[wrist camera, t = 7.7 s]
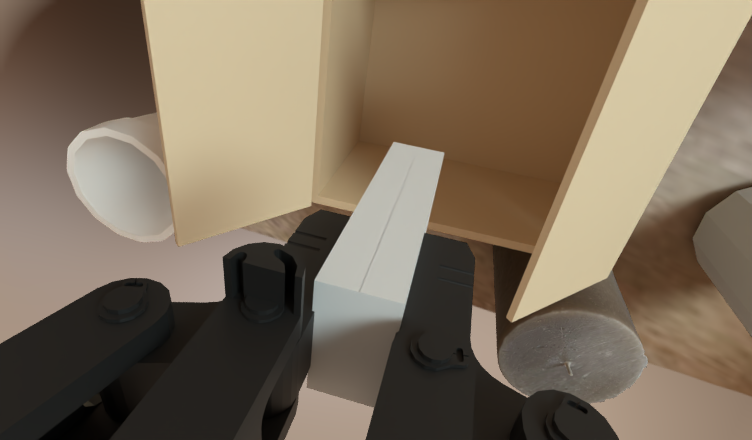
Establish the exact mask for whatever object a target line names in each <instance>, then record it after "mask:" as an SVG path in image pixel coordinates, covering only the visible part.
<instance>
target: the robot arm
mask: <svg viewBox="0 0 752 440" xmlns="http://www.w3.org/2000/svg"><path fill="white" fill-rule="evenodd" d="M443 157H444V152H439V151H434V150H430V149H425V148H420V147H416V146H411V145H406V144H402V143H397V142H393V144H392V146H391V148H390V149H389V151H388V153H387V154H386V156H385V158H384V160H383V161H382V163H381V165H380V167H379V168H378V170H377V172H376V174H375V175H374V177H373V179H372V181H371V182H370V184H369V186H368V188H367V189H366V191H365V193H364V195H363V196H362V198H361V200H360V202H359V203H358V205H357V207H356V209H355V210H354V212H353V214H352V216H351V217H350V216H345V215H341V214H337V213H333V212H329V211H325V210H319V211H318V212H316V213H314V214H312V215H310V216H308V217H306V218H305V219H304V220H303V221H302V223H301V224H300V225H299V227H298V228H297V229H296V232H295V233H293V235H292V236H291V237H290V239H289V240H288V243H286V244H285V245H284V246H283V245H281V244H274V243H266V242H263V243H252V244H247V245H244V246H241V247H238V248H235V249H233V250H232V251H230V252H229V253H228V254H226V255H225V256H224V257H223V268H224V281H225V294H226V297H225V298H224V299H223V301H219V302H208V303H194V302H171V298H170V293H169V290H168V289H167V288H166V287H165V286H164V285H163V284H161V283H160V282H157V281H154V280H151V279H147V278H146V279H145V278H129V279H124V280H119V281H114V282H111V283H109V284H107V285H104V286H102V287H100V288H97V289H95V290H93V291H92V292H90V293H88V294H86V295H85V296H83V297H82V298H80V299H78V300H76V301H74V302H72V303H71V304H69V305H67V306H65V307H64V308H62V309H60V310H59V311H57V312H55V313H53V314H51V315H50V316H48V317H46V318H44V319H43V320H41V321H39V322H38V323H36V324H34V325H32V326H30V327H29V328H27V329H25V330H23V331H22V332H20V333H18V334H17V335H15V336H13V337H11V338H10V339H8V340H6V341H4V342H3V343H1V344H0V440H284V439H285V437H286V435H287V433H288V430H289V428H290V426H291V423H292V421H293V419H294V417H295V414H296V410H297V405H298V395H299V391H300V388H301V386H302V384H303V382H304V380H305V378H306V375H307V373H308V377H307V388H310V389H314V390H317V391H320V392H324V393H327V394H330V395H334V396H338V397H340V398H344V399H347V400H351V401H354V402H357V403H361V404H364V405H367V406H371V407H374V411H373V415H372V418H371V422H370V426H369V430H368V433H367V437H366V440H619V438H618V437H617V435H616V433H615V432H614V431H613V429H612V428H611V426H610V425H609V423H608V422H607V420H606V419H605V418H604V417H603V416H602V415H601V414H600V413H599V412H598V411H597V410H596V409H594V408H593V407H592V406H591V405H590V404H589V403H587V402H585V401H583V400H581V399H580V398H578V397H576V396H574V395H572V394H570V393H566V392H562V391H558V390H554V389H552V390H542V391H537V392H536V393H534V394H533V395H531V396H530V397H528V398H526V397H525V396H523V395H521V394H520V393H518V392H516V391H514V390H513V389H511V388H509V387H507V386H506V385H504V384H502V383H501V382H499V381H498V380H496V379H495V378H494V377H492V376H491V375H490V374H489V373H488V372H487V371H486V370H485V369H484V368H483V367H482V366H481V365H480V363H479V362H478V360H477V359H476V357H475V355H474V353H473V350H472V348H471V341H470V333H471V316H472V300H473V283H474V266H475V257H474V255H473V254H472V252H471V250H470V248H469V246H468V244H467V243H464V242H460V241H456V240H452V239H448V238H444V237H439V236H435V235H431V234H427V233H426V230H427V226H428V222H429V217H430V213H431V209H432V205H433V200H434V196H435V192H436V187H437V183H438V179H439V175H440V170H441V166H442V162H443Z"/></svg>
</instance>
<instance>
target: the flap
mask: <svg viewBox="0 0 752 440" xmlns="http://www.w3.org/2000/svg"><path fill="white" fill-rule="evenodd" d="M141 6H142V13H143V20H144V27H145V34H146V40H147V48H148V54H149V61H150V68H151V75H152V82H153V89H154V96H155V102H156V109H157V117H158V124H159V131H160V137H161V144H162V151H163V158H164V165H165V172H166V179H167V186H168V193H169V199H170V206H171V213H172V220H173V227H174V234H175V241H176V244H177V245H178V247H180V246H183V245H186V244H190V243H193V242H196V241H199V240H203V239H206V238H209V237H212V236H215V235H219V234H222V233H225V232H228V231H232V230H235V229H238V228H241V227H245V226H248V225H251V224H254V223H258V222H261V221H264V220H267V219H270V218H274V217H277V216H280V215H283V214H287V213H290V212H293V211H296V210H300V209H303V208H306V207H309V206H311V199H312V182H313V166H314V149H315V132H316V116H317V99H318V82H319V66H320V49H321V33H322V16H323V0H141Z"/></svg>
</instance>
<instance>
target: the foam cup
mask: <svg viewBox="0 0 752 440" xmlns="http://www.w3.org/2000/svg"><path fill="white" fill-rule="evenodd" d="M67 172H68V175H69V177H70V180H71V183H72V185H73V188H74V190H75V193H76V195H77V197H78V198H79V199H80V200H81V201H82V203H83V204H84V205H85V206H86V208H87V209H88V210H89V211H90V213H91V214H92V215H93V216H94V217H95V218H96V219H97V220H98V221H100V222H101V223H103V224H104V225H105V226H107V227H108V228H110V229H111V230H113V231H114V232H115V233H117V234H118V235H121V236H124V237H127V238H130V239H133V240H136V241H139V242H142V243H143V242H157V241H164V240H165V239H166V238H168V237H169V236H171V235H172V234H173V233H174V227H173V220H172V213H171V206H170V199H169V193H168V186H167V179H166V172H165V165H164V158H163V151H162V144H161V137H160V131H159V124H158V117H157V112H156V113H152V114H147V115H143V116H139V117H135V118H129V117H127V118H121V119H116V120H111V121H106V122H103V123H101V124H98V125H96V126H94V127H91V128H89V129H86V130H84V131H81V132H80V133H79V135H78V136H77V137H76V138H75V139H74V141H73V142H72V143H71V144H70V145H69V147H68V153H67Z"/></svg>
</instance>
